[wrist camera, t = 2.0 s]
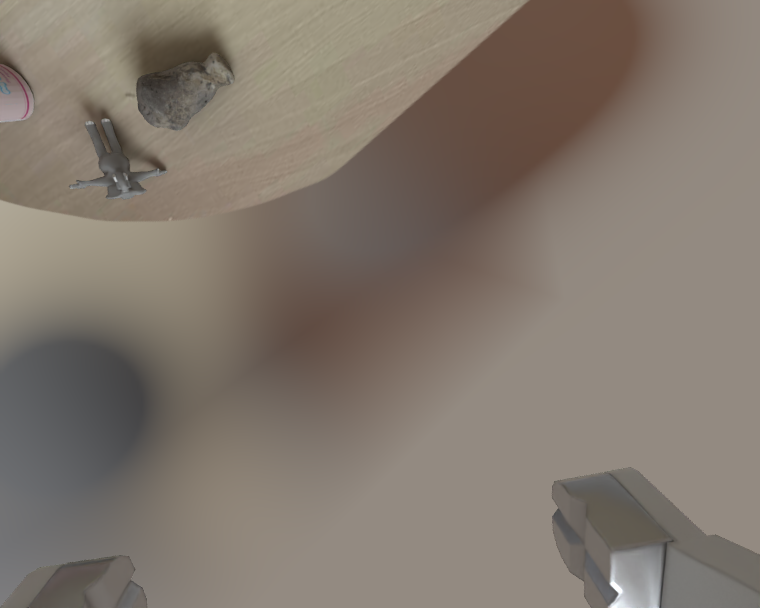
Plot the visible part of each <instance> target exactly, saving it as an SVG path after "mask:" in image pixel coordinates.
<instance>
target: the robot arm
mask: <svg viewBox="0 0 760 608" xmlns="http://www.w3.org/2000/svg"><path fill="white" fill-rule="evenodd" d="M552 499H553V500H554V502H555V503H556V505H557V506H558V509H557V511H556V512H555V513H554V515H553V516H552V523H553V533H554V537H555V541H556V544H557V547H558V550H559V552H560V554H561V557H562V559H563V561H564V563H565V564H566V566H567V568H568V569H569V571H570V572H571V573H572V574H573V575H575V576H576V577H578V578H579V579H581V580H583V581H584V597H585V599H586V600H587V602H588V604H589V605H590V607H591V608H760V555H759V554H757V553H755V552H753V551H751V550H749V549H746V548H744V547H742V546H740V545H738V544H735V543H733V542H731V541H729V540H727V539H724V538H722V537H720V536H718V535H709V536H707V535H706V534H704V532H702V531H701V530H700V529H699V528H698V527H697V526H696V525H695V524H694V523H693V522H692V521H691V520H690V519H689V518H687V516H685V515H684V514H683V513H682V512H681V511H680V510H679V509H678V508H677V507H676V506H675V505H674V504H673V503H672V502H670V500H668V499H667V498H666V497H665V496H664V495H663V494H662V493H661V492H660V491H659V490H658V489H657V488H656V487H655V486H653V484H651V483H650V482H649V481H648V480H647V479H646V478H645V477H644V476H643V475H642V474H641V473H640V472H639V471H637V470H635V469H633V468H631V467H629V468H623V469H618V470H612V471H607V472H604V473H598V474H591V475H586V476H580V477H575V478H569V479H564V480H558V481H554V484H553V486H552ZM134 571H135V568H134V566H133V564H132V562H131V559H130V557H129V556H122V555H119V556H112V557H105V558H99V559H91V560H84V561H78V562H70V563H67V564H61V565H54V566H46V567H40V568H38V569H36V570H35V571H33V572H31V573H30V574H28V575H27V576H26V577H25V579H24V580H23V581H22V582H21V583H20V585H19V586H18V587H17V588H16V589H15V591H14V592H13V593H12V594H11V595H10V596H9V597H8V599H7V600H6V601H5V602H4V603H3V605H2V606H1V607H0V608H147V599H146V596H145V593H144V590H143V588H142V587H141V586H139V585H137V584H136V583H134V582H133V581H131V578H132V576H133V573H134Z"/></svg>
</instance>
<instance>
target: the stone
mask: <svg viewBox="0 0 760 608" xmlns="http://www.w3.org/2000/svg"><path fill="white" fill-rule="evenodd" d="M233 82H234V75H233V73H232V71H231V69H230V67H229V66H228V64H227V63H226V61H225V60H224V59H223V58H222V57H221V56H220V55H218V54H216V53H211V54H210V55H209V57H208V58H207V60H206V61H205V62H204V63H198V62H186V63H183V64H180V65H178V66H176V67H174V68H172V69H169V70H166V71H163V72H158V73H151V74H146V75H143V76H141V77H140V78H139V79H138V81H137V88H136V91H137V101H138V109H139V111H140V112H141V114H142V115H143V117H144V119H145V120H146V121H147V122H148V123H150V124H151V125H153V126H155V127H163V128H169V129H172V130H176V131H177V130H181V129H182V128H184V127H185V126H186V125H187V124H188V122H189V120H190V119H191V117H192V116H193V115H194V114H196V113H197V112H199V111H200V110H201V109H202V108H203V107H204V106H205V105H206V104H207V103H208V102H209V101H210V100H211V99H212V98H213V96H214V95H215V93H216V91H217V89H218V88H219V87H221V86H224V85H229V84H232V83H233Z"/></svg>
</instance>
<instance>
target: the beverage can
mask: <svg viewBox="0 0 760 608" xmlns="http://www.w3.org/2000/svg"><path fill="white" fill-rule="evenodd" d="M33 109H34V99H33V95H32V92H31V90H30V88H29V86H28V85H27V83H26V82H25V81H24V79H23V78H22V77H21V76H20V75H19V74H18V73H17V72H15V71H14V70H13V69H11V68H10V67H8V66H6V65H3V64H0V122H9V121H19V120H25V119H27V118H28V117H30V116H31V114H32V113H33Z"/></svg>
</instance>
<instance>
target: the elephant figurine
mask: <svg viewBox="0 0 760 608" xmlns="http://www.w3.org/2000/svg"><path fill="white" fill-rule="evenodd" d="M101 124H102V126H103V128H104V131H105V133H106V136H107V139H108V141H109V144H110V147H111V150H112V153H111V154H110V153H108V152H107V151H106V149H105V146H104V144H103V142H102V140H101V137H100V135H99V132H98V130H97V127H96V124H95V123H94V122H93V121H91V122H90V121H88V122H85V126H86V129H87V131H88V133H89V134H90V136H91V139H92V141H93V144H94V146H95V150H96V153H97V155H98V157H99V168H100V169H101V171H102V172H103V173H104V175H105V176H103V177H100V178H97V179H94V180H90V181H79V180H76V181H77V184H74V185H70V186H69V187H70V188H71V189H72V188H73V189H75V188H85V187H87V186H90V185H92V186H107V187H108V195H107V196H106V198H107V199H116V198H122V199H130V198H133V197H134V195H139V194H143V193H145V192H146V191H147V190H146V189H144V188H142V187H141V185H140V184H139V183H138V182H140V181H142V180H145V179H147V178H149V177H151V176H160V175H162V174H165V173H167V171H166V170H163V171H159V168H157V169H156V170H152V171H148V172H130V170H129V169H130V163H129V160H128V158H126V157H125V156H124V155H123V153H122V149H121V147H120V145H119V143H118V140H117V138H116V135H115V132H114V129H113V125H112V122H111V120H109V119H106V118H104V119H102V120H101Z"/></svg>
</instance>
